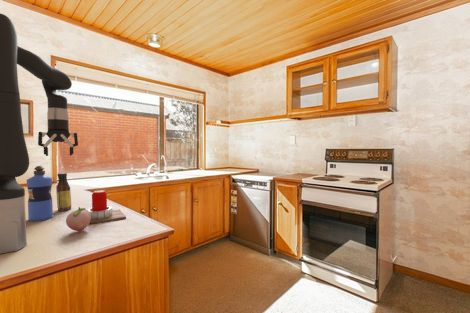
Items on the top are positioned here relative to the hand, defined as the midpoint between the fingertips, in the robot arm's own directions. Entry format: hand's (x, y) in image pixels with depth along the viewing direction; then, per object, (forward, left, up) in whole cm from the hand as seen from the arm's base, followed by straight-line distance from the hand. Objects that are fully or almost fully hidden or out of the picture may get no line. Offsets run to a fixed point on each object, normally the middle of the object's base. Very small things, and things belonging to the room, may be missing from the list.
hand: (59, 155), depth 107 cm
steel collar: (-3, -15, -30) cm, 34 cm away
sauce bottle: (+26, -1, -30) cm, 40 cm away
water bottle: (+13, +8, -30) cm, 34 cm away
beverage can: (-3, -15, -29) cm, 33 cm away
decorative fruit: (-19, -6, -30) cm, 36 cm away
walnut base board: (-3, -15, -30) cm, 34 cm away
